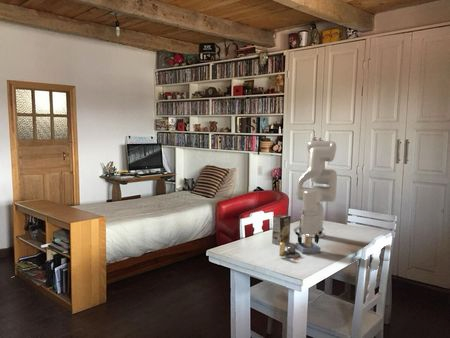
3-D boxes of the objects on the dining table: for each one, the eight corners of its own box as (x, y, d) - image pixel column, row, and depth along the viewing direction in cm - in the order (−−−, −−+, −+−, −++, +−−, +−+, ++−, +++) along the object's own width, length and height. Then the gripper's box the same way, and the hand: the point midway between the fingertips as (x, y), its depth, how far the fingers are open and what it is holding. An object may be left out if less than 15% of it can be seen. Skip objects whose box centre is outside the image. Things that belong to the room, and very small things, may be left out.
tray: (295, 248, 218) (296, 243, 218) (312, 247, 220) (312, 242, 220) (302, 253, 208) (303, 248, 208) (320, 253, 210) (320, 247, 210)
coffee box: (280, 245, 222) (281, 218, 221) (271, 243, 227) (272, 216, 225) (289, 242, 229) (291, 215, 227) (281, 240, 233) (282, 214, 232)
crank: (290, 251, 209) (291, 238, 208) (297, 253, 206) (297, 240, 205) (277, 255, 202) (277, 242, 201) (283, 257, 199) (284, 244, 198)
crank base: (280, 252, 210) (280, 250, 209) (295, 252, 211) (296, 250, 211) (288, 260, 198) (288, 258, 198) (304, 259, 200) (304, 257, 199)
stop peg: (303, 248, 216) (303, 235, 215) (309, 247, 217) (310, 235, 216) (306, 250, 212) (306, 237, 211) (312, 250, 213) (313, 237, 212)
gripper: (297, 214, 207) (295, 245, 209) (327, 213, 210) (325, 244, 212) (292, 211, 214) (290, 241, 216) (321, 210, 217) (319, 240, 219)
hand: (308, 243), depth 214 cm, fingers open, 9 cm apart
